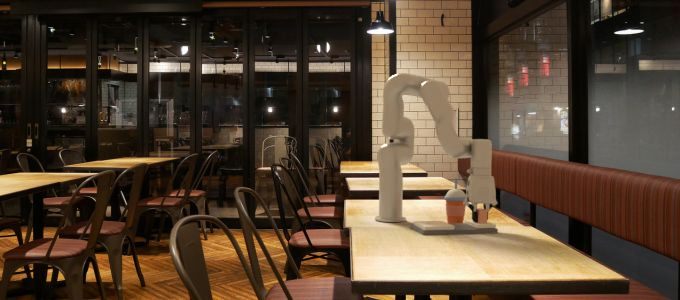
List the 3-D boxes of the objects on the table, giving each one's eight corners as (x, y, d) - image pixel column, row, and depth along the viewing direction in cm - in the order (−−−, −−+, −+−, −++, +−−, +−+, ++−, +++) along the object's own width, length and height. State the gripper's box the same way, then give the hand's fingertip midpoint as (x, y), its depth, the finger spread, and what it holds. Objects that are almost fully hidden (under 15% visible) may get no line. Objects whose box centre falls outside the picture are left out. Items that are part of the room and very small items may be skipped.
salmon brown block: (464, 223, 230) (464, 207, 230) (481, 223, 231) (482, 206, 231) (477, 228, 218) (477, 211, 218) (495, 227, 219) (496, 210, 219)
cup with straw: (439, 222, 244) (440, 177, 243) (457, 220, 248) (458, 177, 247) (452, 225, 236) (453, 179, 235) (471, 224, 240) (472, 178, 239)
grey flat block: (410, 228, 227) (410, 221, 227) (480, 226, 233) (480, 219, 233) (423, 234, 213) (423, 227, 213) (497, 233, 218) (497, 225, 218)
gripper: (463, 173, 219) (463, 223, 219) (506, 173, 222) (505, 223, 222) (456, 171, 226) (455, 220, 227) (497, 171, 229) (496, 220, 230)
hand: (479, 221), depth 224 cm, fingers closed on salmon brown block, 3 cm apart
